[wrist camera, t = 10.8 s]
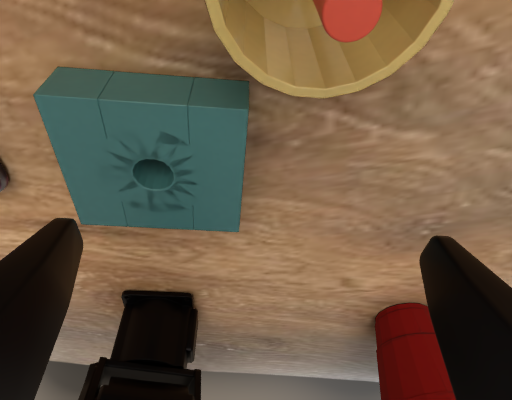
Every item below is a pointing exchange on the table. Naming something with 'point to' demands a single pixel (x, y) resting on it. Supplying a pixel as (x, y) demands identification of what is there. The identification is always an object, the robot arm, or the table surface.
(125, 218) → the block
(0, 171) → the eraser
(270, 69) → the tumbler
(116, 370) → the robot arm
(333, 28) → the red rod
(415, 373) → the plastic cup
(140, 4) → the table surface
